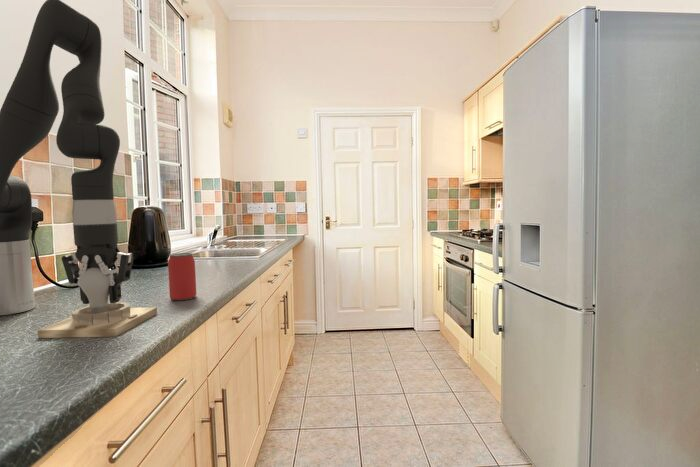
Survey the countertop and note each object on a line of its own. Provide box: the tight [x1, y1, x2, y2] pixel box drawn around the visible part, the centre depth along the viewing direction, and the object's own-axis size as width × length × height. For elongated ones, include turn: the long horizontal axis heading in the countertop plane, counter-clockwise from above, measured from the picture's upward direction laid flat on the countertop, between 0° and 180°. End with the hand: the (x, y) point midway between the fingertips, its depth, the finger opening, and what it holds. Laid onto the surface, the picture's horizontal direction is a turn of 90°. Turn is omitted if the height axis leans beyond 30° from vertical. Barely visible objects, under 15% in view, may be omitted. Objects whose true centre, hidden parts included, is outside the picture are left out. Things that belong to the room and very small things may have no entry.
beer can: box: [167, 252, 197, 302], centre depth 100 cm, size 7×7×12 cm
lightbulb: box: [79, 268, 114, 314], centre depth 78 cm, size 6×6×11 cm
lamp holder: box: [37, 301, 158, 339], centre depth 78 cm, size 15×15×4 cm
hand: (101, 302), depth 78 cm, fingers closed on lightbulb, 5 cm apart
